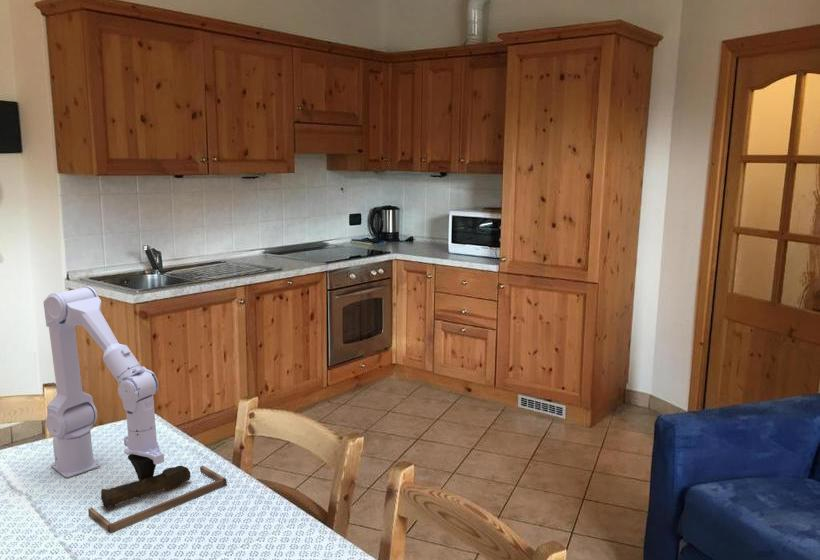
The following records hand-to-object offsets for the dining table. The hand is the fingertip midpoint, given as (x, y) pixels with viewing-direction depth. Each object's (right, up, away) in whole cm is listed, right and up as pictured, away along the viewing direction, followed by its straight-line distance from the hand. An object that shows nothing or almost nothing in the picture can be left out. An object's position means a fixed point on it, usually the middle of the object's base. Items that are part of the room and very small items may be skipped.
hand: (146, 484), depth 152 cm
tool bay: (+5, -2, -4) cm, 6 cm away
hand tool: (+1, -2, -1) cm, 2 cm away
